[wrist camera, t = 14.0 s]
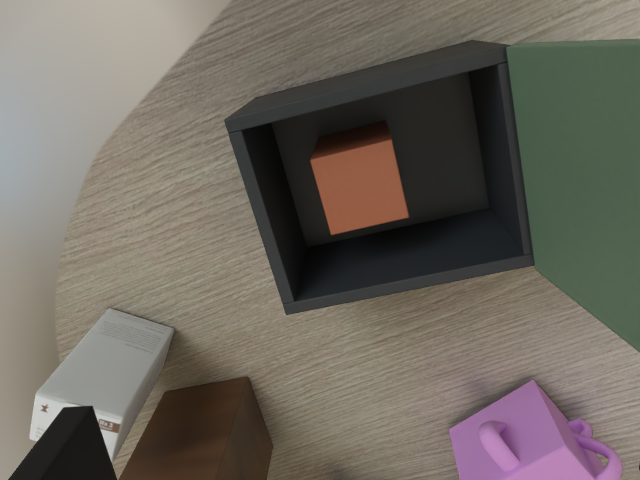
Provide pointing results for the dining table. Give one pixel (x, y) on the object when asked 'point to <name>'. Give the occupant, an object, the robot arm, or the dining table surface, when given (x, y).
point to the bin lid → (583, 170)
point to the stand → (204, 436)
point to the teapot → (529, 442)
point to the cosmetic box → (106, 376)
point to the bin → (414, 168)
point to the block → (358, 178)
